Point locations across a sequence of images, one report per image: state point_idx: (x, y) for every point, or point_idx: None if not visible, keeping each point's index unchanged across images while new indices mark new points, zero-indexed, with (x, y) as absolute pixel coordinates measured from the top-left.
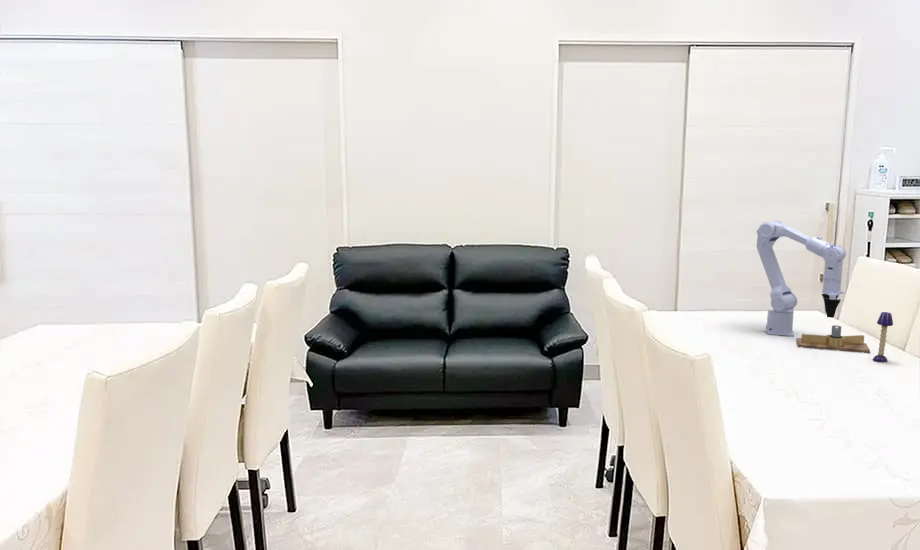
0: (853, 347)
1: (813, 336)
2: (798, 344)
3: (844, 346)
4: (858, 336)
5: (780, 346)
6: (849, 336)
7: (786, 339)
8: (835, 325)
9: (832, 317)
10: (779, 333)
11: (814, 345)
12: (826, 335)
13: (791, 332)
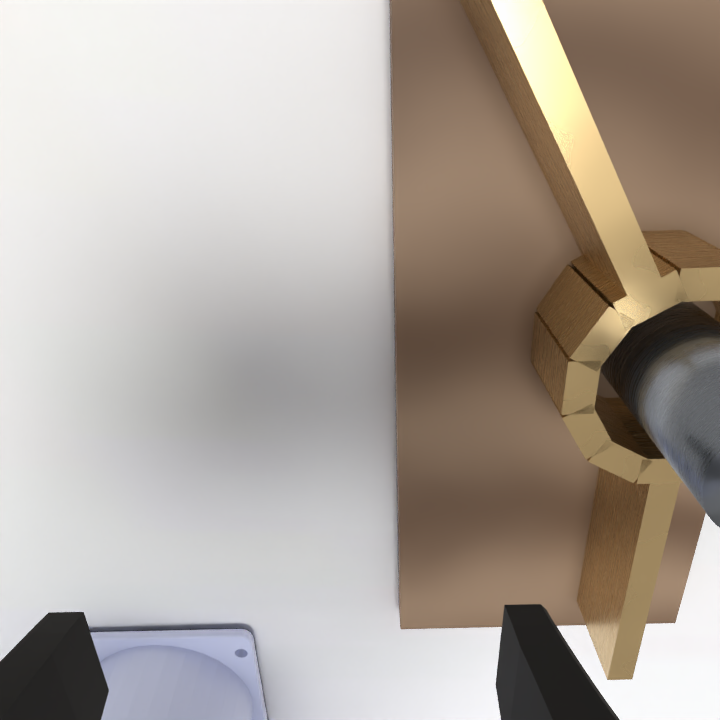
0: (714, 116)
1: (647, 583)
2: (669, 619)
3: (681, 230)
4: (553, 34)
5: (656, 693)
6: (624, 194)
7: (387, 663)
8: (707, 492)
9: (546, 620)
10: (251, 717)
11: (687, 512)
12: (634, 480)
13: (187, 658)
